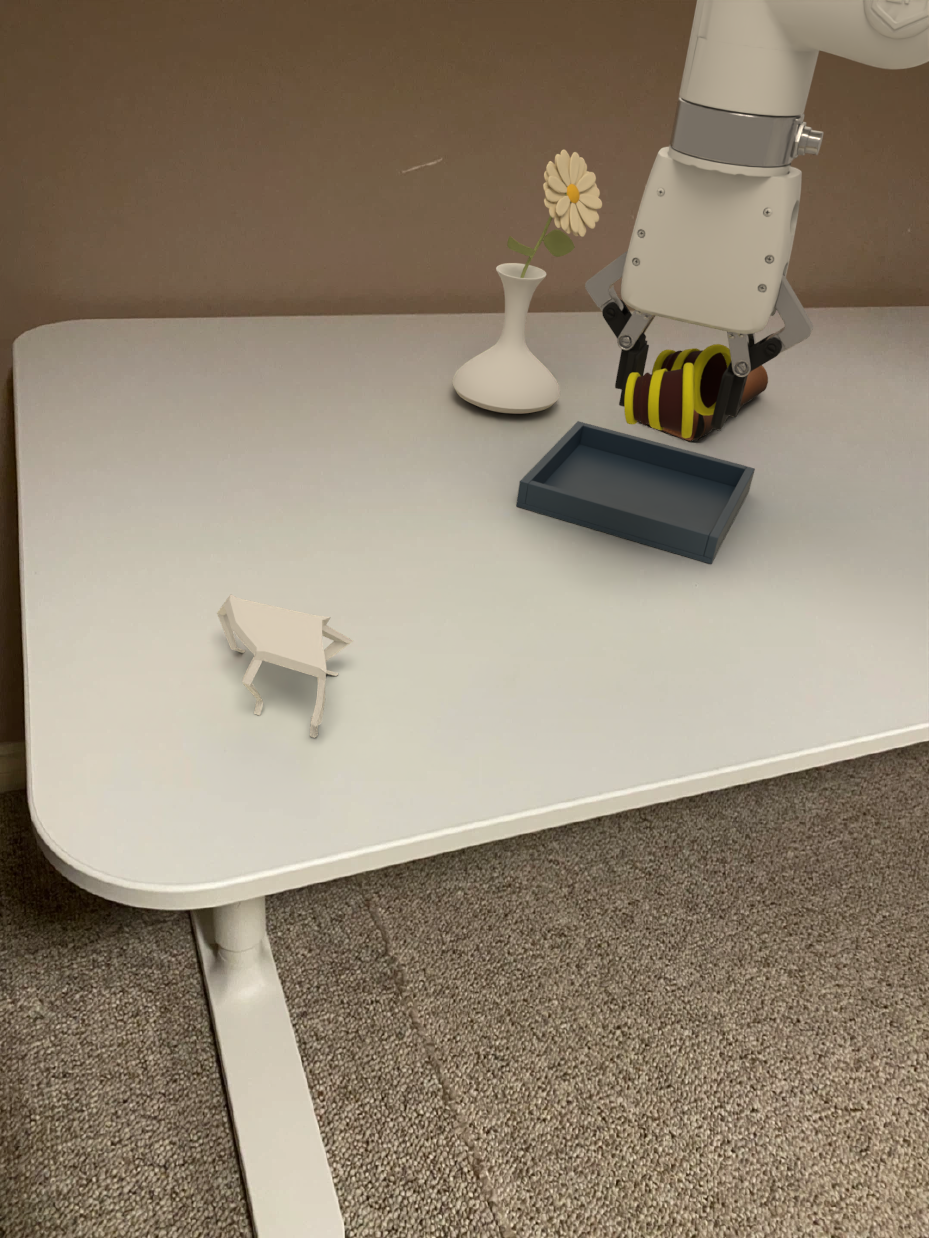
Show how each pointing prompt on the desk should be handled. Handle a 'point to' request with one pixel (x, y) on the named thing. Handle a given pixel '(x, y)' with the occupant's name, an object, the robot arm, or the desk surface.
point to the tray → (638, 490)
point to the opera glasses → (677, 388)
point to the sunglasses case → (753, 387)
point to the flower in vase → (509, 367)
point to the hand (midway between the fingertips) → (674, 409)
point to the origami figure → (282, 643)
